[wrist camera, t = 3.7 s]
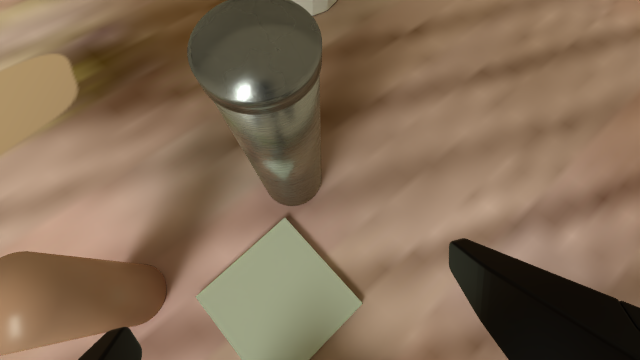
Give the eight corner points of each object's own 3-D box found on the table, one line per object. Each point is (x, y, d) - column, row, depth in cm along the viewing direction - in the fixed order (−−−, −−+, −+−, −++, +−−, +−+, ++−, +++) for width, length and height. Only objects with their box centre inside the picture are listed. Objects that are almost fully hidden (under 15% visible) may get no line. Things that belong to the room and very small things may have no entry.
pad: (362, 303, 21) (362, 303, 20) (272, 396, 19) (271, 399, 18) (285, 218, 23) (284, 217, 22) (197, 296, 21) (195, 296, 20)
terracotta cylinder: (177, 295, 21) (77, 303, 12) (127, 339, 20) (-18, 380, 11) (146, 252, 22) (33, 232, 13) (97, 292, 21) (-57, 298, 12)
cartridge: (334, 180, 23) (349, 45, 10) (290, 219, 22) (244, 128, 9) (295, 141, 25) (264, -25, 11) (251, 177, 24) (161, 41, 10)
